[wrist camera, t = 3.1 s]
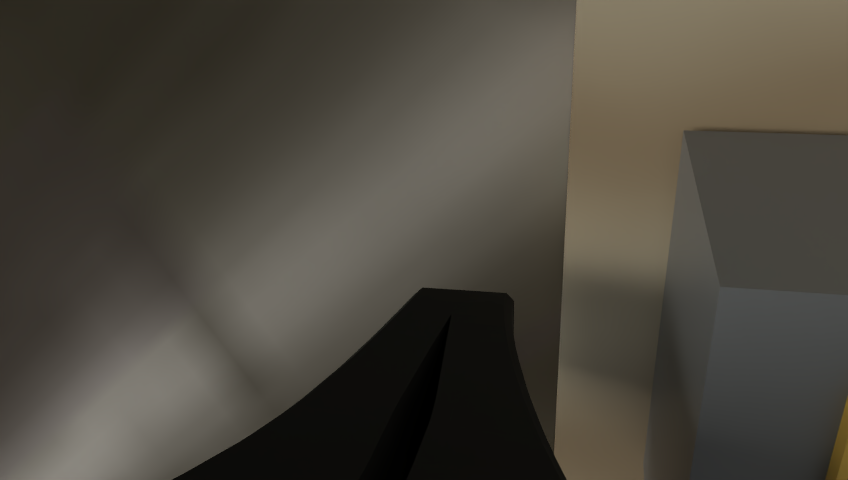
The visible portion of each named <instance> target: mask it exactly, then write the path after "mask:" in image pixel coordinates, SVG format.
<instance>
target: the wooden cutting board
mask: <svg viewBox="0 0 848 480" xmlns="http://www.w3.org/2000/svg"><path fill="white" fill-rule="evenodd" d="M683 130H690V131H722V132H755V133H787V134H820V135H848V0H577V3H576V24H575V44H574V64H573V84H572V104H571V124H570V145H569V165H568V185H567V205H566V225H565V246H564V266H563V286H562V306H561V326H560V346H559V367H558V387H557V407H556V427H555V447H554V456H555V458H556V460H557V462H558V463H559V465H560V467H561V469H562V471H563V473H564V475H565V477H566V479H567V480H644V468H643V461H644V453H645V445H646V436H647V428H648V420H649V412H650V403H651V395H652V387H653V379H654V370H655V362H656V354H657V345H658V337H659V329H660V321H661V312H662V304H663V296H664V287H665V279H666V271H667V263H668V254H669V246H670V238H671V230H672V221H673V213H674V205H675V196H676V188H677V180H678V172H679V163H680V155H681V147H682V138H683Z"/></svg>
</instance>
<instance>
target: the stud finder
mask: <svg viewBox="0 0 848 480" xmlns="http://www.w3.org/2000/svg"><path fill="white" fill-rule="evenodd" d="M643 468H644V480H848V135H820V134H787V133H755V132H722V131H690V130H683V138H682V147H681V155H680V163H679V172H678V180H677V188H676V196H675V205H674V213H673V221H672V230H671V238H670V246H669V254H668V263H667V271H666V279H665V287H664V296H663V304H662V312H661V321H660V329H659V337H658V345H657V354H656V362H655V370H654V379H653V387H652V395H651V403H650V412H649V420H648V428H647V436H646V445H645V453H644V461H643Z"/></svg>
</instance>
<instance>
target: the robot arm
mask: <svg viewBox="0 0 848 480" xmlns="http://www.w3.org/2000/svg"><path fill="white" fill-rule="evenodd" d="M173 480H567V479H566V477H565V475H564V473H563V471H562V469H561V467H560V465H559V463H558V462H557V460H556V458H555V456H554V454H553V452H552V449H551V447H550V445H549V443H548V441H547V439H546V436H545V434H544V432H543V429H542V427H541V425H540V422H539V419H538V417H537V414H536V412H535V409H534V407H533V404H532V401H531V399H530V396H529V393H528V390H527V387H526V384H525V380H524V377H523V373H522V370H521V366H520V363H519V360H518V355H517V351H516V347H515V341H514V301H513V300H512V299H511V298H510V296H509V295H508V294H507V293H496V292H481V291H465V290H450V289H435V288H422V289H420V290H419V291H418V292H417V293H416V294H415V295H414V296H413V297H412V298H411V299H410V300H409V301H408V302H407V303H406V304H405V305H404V306H403V307H402V308H401V309H400V310H399V311H398V312H397V313H396V314H395V315H394V316H393V317H392V318H391V319H390V320H389V321H388V322H387V323H386V324H385V325H384V326H383V327H382V328H381V329H380V330H379V331H378V332H377V333H376V334H375V335H374V336H373V337H372V338H371V339H370V340H369V341H368V342H366V343H365V344H364V345H363V346H362V347H361V348H360V349H359V350H358V351H357V352H356V353H355V354H354V355H353V356H351V357H350V358H349V359H348V360H347V361H346V362H345V363H344V364H343V365H342V366H341V367H339V368H338V369H337V370H336V371H335V372H334V373H332V374H331V375H330V376H329V377H328V378H326V379H325V380H324V381H323V382H322V383H320V384H319V385H318V386H317V387H316V388H314V389H313V390H312V391H311V392H310V393H308V394H307V395H306V396H305V397H304V398H302V399H301V400H300V401H298V402H297V403H296V404H294V405H293V406H292V407H291V408H289V409H288V410H286V411H285V412H284V413H282V414H281V415H280V416H278V417H277V418H275V419H274V420H272V421H271V422H269V423H268V424H266V425H265V426H263V427H262V428H260V429H259V430H257V431H256V432H254V433H253V434H251V435H250V436H248V437H247V438H245V439H243V440H242V441H240V442H239V443H237V444H235V445H233V446H231V447H230V448H228V449H226V450H224V451H223V452H221V453H219V454H217V455H216V456H214V457H212V458H210V459H209V460H207V461H205V462H203V463H202V464H200V465H198V466H196V467H195V468H193V469H191V470H189V471H188V472H186V473H184V474H182V475H180V476H178V477H176V478H174V479H173Z"/></svg>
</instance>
